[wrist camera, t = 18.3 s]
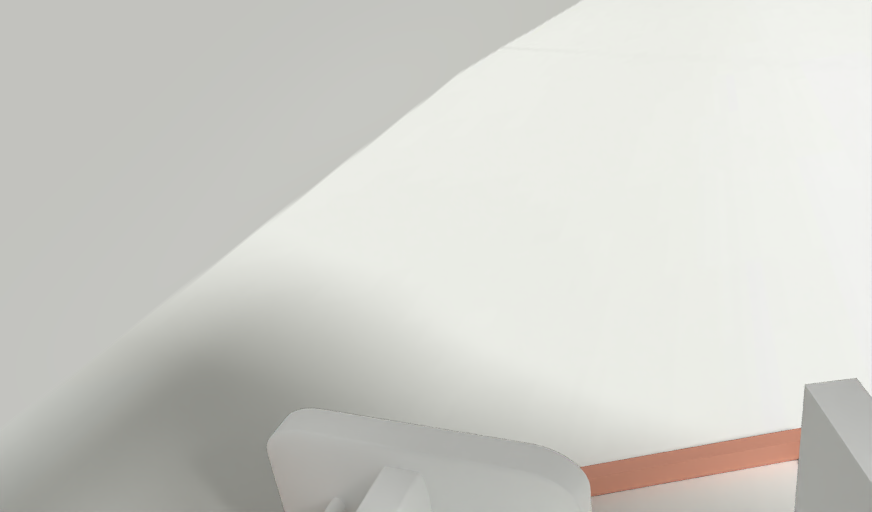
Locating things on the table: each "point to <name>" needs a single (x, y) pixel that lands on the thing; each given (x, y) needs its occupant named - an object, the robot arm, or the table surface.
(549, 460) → the cable organizer
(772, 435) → the divided tray
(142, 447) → the table surface
